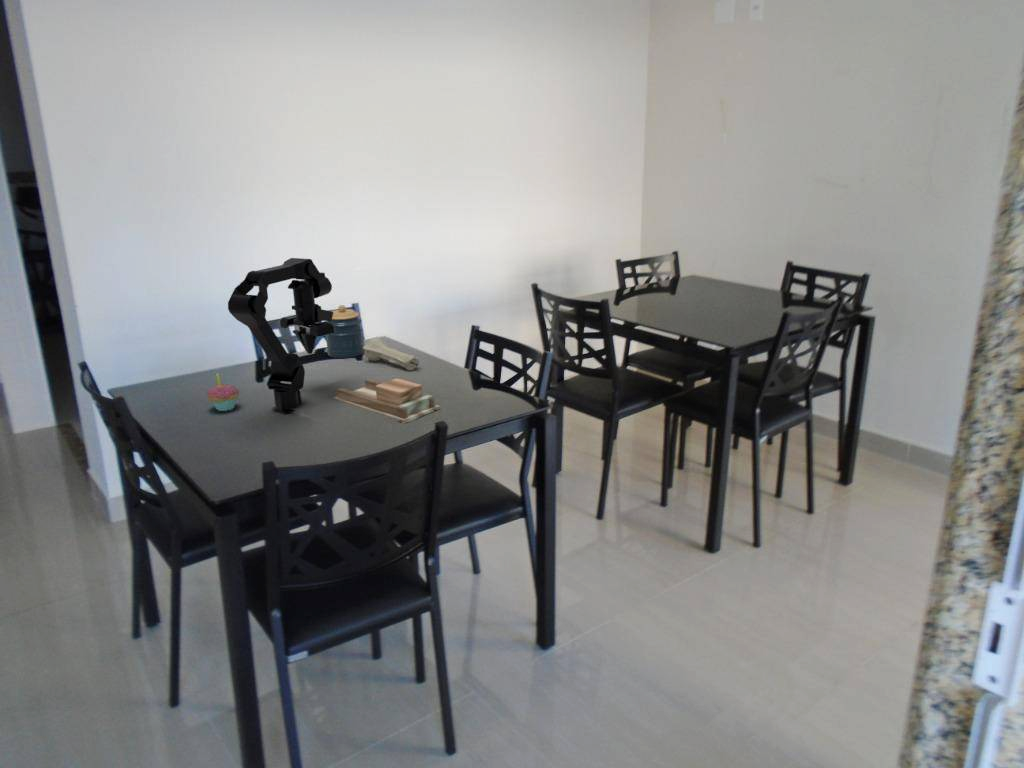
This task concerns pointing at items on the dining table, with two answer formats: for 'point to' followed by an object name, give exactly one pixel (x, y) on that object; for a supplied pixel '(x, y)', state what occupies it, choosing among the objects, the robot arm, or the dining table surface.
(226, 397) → the cupcake
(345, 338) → the canister
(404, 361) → the faceted club
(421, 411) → the bay
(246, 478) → the dining table surface
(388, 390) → the crate
